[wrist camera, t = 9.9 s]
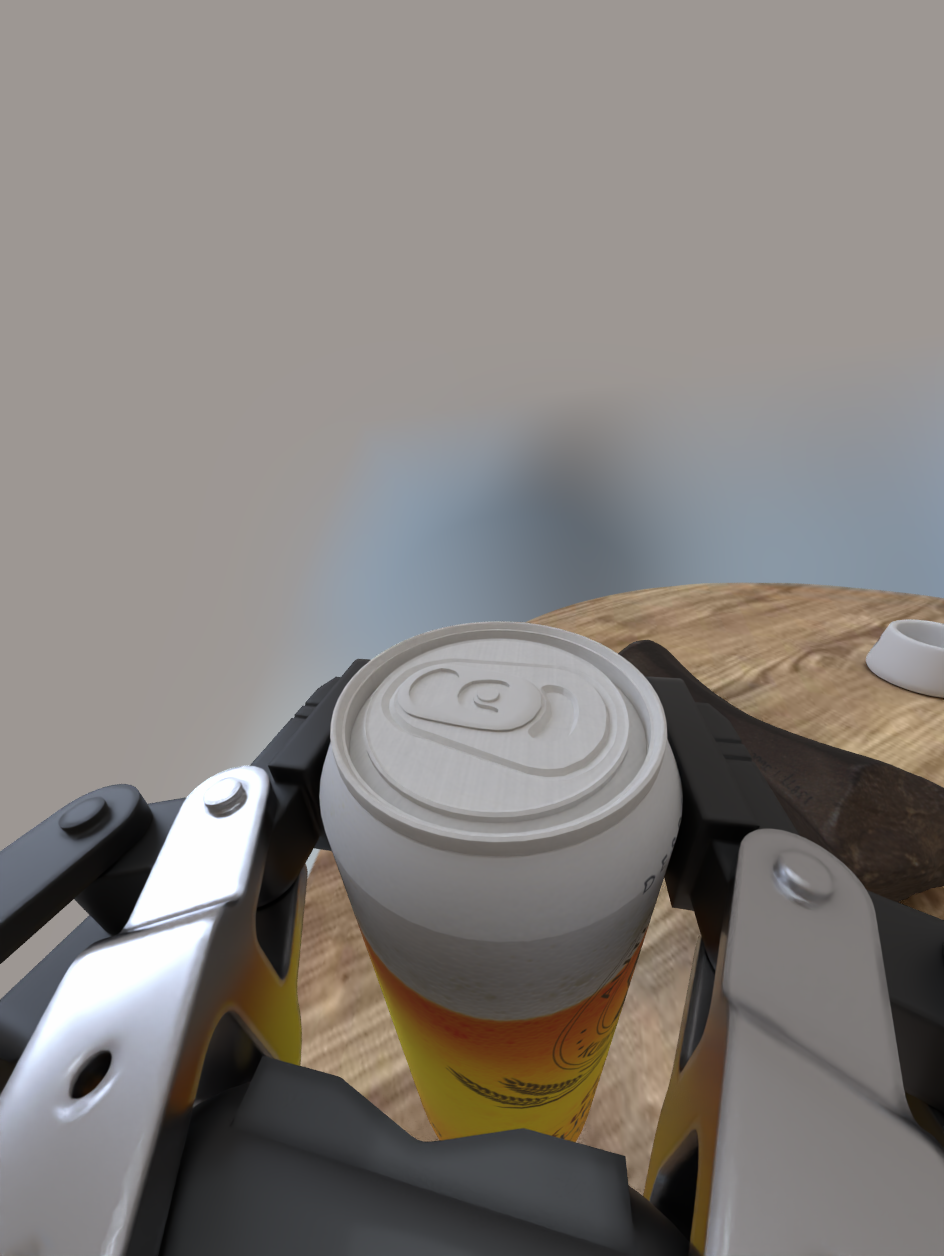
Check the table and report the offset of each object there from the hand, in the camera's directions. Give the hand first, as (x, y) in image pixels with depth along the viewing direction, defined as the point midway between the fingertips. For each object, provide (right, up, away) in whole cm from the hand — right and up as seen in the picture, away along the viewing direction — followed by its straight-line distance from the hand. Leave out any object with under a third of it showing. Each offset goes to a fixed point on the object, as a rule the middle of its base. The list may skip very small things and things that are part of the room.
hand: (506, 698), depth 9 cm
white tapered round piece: (+56, -4, +39) cm, 68 cm away
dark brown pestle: (+23, -12, +28) cm, 38 cm away
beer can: (0, -13, +4) cm, 13 cm away
